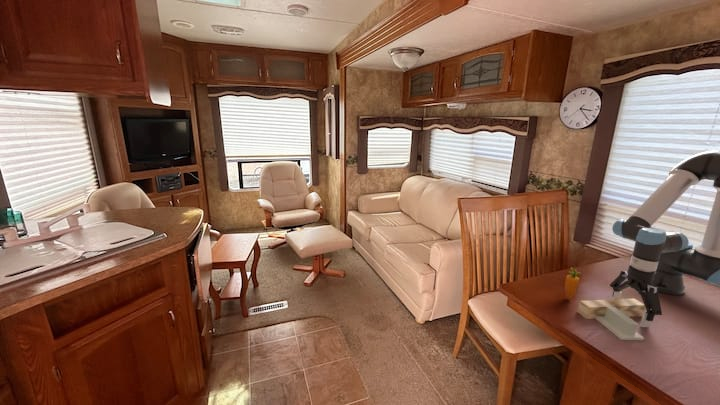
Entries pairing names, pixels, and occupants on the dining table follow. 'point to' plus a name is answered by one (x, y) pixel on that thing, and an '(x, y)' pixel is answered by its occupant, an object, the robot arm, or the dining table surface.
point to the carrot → (571, 284)
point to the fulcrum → (620, 324)
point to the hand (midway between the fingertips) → (628, 315)
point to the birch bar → (599, 307)
